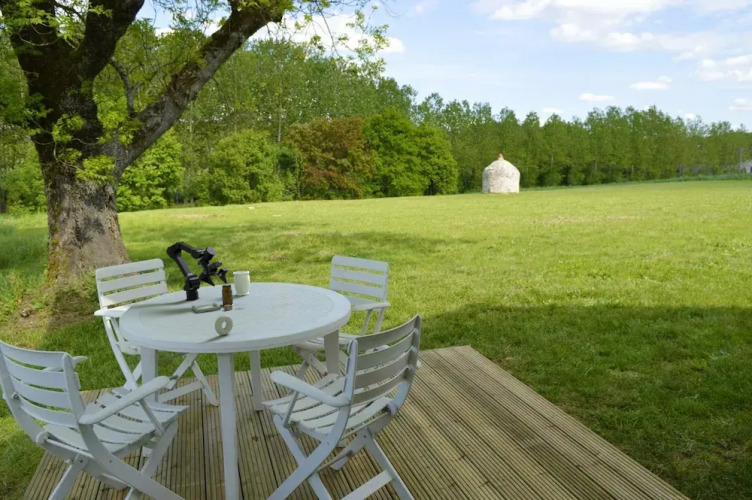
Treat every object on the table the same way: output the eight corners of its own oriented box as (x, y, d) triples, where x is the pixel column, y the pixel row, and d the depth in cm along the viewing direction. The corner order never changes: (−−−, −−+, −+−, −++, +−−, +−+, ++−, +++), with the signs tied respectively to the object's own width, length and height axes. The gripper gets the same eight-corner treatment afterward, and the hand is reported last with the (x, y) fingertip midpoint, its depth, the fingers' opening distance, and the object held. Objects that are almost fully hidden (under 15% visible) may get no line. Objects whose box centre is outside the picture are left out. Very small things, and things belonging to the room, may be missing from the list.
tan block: (224, 309, 323) (224, 305, 322) (229, 308, 325) (228, 304, 324) (227, 310, 320) (227, 306, 319) (232, 309, 322) (232, 305, 321)
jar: (248, 296, 358) (247, 273, 356) (232, 296, 358) (231, 273, 356) (252, 292, 368) (251, 270, 367) (237, 293, 369) (235, 270, 367)
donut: (218, 338, 265) (216, 317, 263) (213, 336, 267) (212, 316, 265) (235, 332, 272) (233, 313, 271) (230, 331, 275) (229, 312, 273)
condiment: (230, 302, 340) (229, 283, 339) (237, 305, 334) (235, 285, 332) (219, 304, 336) (218, 285, 334) (225, 307, 329) (224, 287, 328)
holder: (192, 309, 327) (192, 306, 327) (214, 305, 333) (214, 302, 333) (197, 313, 316) (197, 310, 316) (220, 309, 322) (220, 306, 322)
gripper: (199, 259, 329) (213, 278, 325) (224, 254, 345) (238, 273, 340) (192, 271, 335) (205, 290, 330) (217, 266, 350) (230, 285, 345)
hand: (220, 284), depth 336 cm, fingers open, 9 cm apart
